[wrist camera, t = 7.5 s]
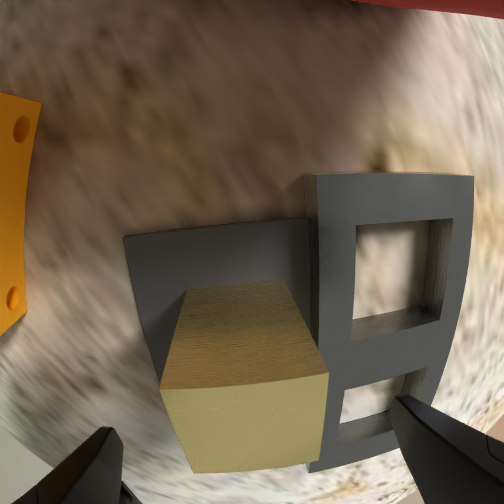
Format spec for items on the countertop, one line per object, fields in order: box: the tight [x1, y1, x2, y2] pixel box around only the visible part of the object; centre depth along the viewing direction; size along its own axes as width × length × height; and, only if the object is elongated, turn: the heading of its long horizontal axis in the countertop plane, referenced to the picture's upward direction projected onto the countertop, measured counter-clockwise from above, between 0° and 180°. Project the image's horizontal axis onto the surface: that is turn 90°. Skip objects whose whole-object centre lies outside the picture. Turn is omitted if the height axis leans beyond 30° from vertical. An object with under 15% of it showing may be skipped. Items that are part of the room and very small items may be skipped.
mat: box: [123, 217, 310, 384], centre depth 15 cm, size 10×10×1 cm
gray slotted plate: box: [303, 172, 474, 473], centre depth 15 cm, size 20×9×2 cm, turn 5°
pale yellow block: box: [159, 279, 329, 473], centre depth 11 cm, size 4×4×7 cm
